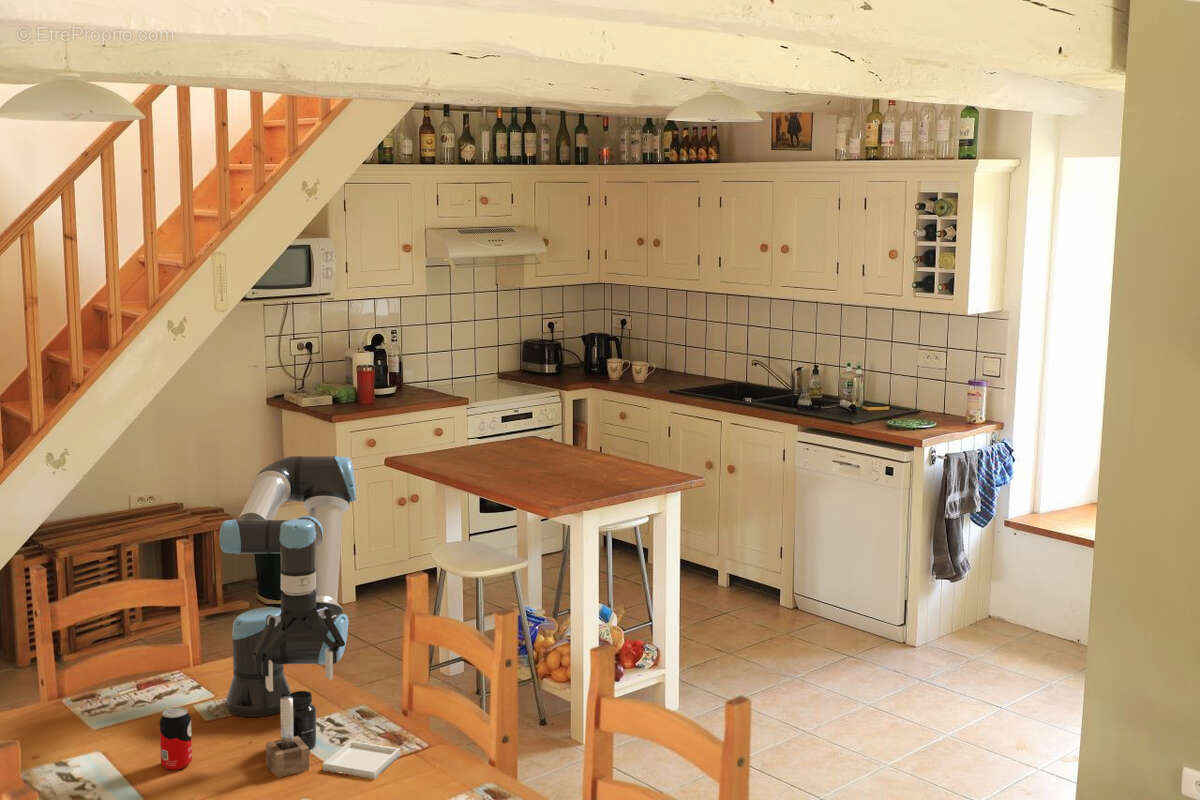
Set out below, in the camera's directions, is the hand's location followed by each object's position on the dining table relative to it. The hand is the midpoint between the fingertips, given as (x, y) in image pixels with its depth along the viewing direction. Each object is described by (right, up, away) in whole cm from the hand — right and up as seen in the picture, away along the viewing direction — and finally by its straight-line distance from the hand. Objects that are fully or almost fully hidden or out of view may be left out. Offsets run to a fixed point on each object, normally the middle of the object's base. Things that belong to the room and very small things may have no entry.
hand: (299, 683), depth 264 cm
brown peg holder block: (0, -16, -8) cm, 18 cm away
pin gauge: (0, -14, -9) cm, 17 cm away
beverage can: (-24, -16, -8) cm, 30 cm away
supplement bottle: (0, -15, +2) cm, 15 cm away
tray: (+15, -16, -5) cm, 22 cm away
